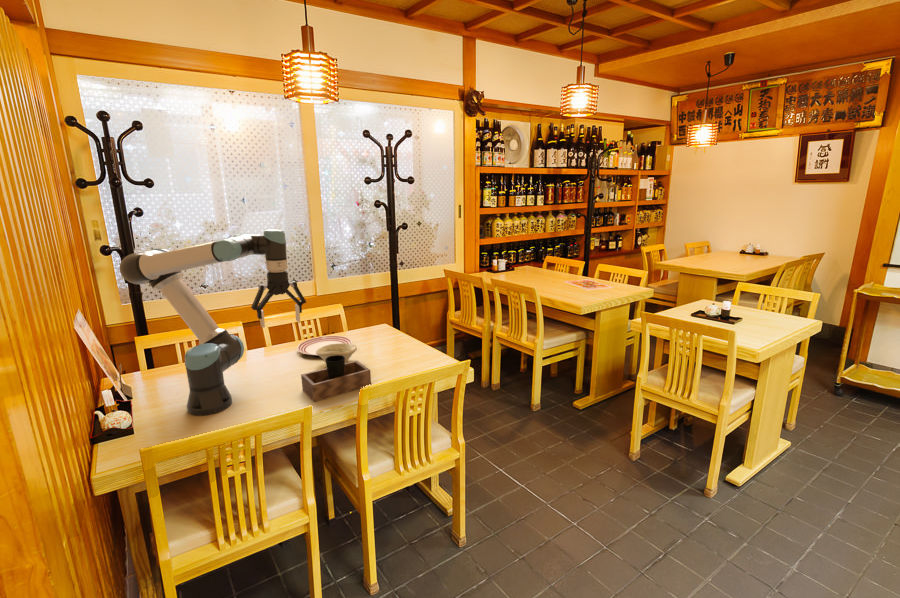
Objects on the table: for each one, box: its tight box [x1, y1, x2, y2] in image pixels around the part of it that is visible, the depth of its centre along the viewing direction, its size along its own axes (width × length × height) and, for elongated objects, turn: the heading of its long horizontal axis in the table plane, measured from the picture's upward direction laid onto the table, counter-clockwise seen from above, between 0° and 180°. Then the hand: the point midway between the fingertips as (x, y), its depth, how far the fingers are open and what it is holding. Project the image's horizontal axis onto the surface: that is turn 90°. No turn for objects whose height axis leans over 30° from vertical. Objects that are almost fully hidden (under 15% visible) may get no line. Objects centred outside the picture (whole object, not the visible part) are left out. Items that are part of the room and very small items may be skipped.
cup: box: [325, 355, 345, 380], centre depth 184 cm, size 8×8×12 cm
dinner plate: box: [296, 335, 353, 357], centre depth 230 cm, size 28×27×3 cm
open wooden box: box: [300, 360, 372, 403], centre depth 184 cm, size 24×13×7 cm, turn 127°
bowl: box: [316, 343, 357, 363], centre depth 210 cm, size 14×18×15 cm
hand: (280, 323), depth 176 cm, fingers open, 13 cm apart
